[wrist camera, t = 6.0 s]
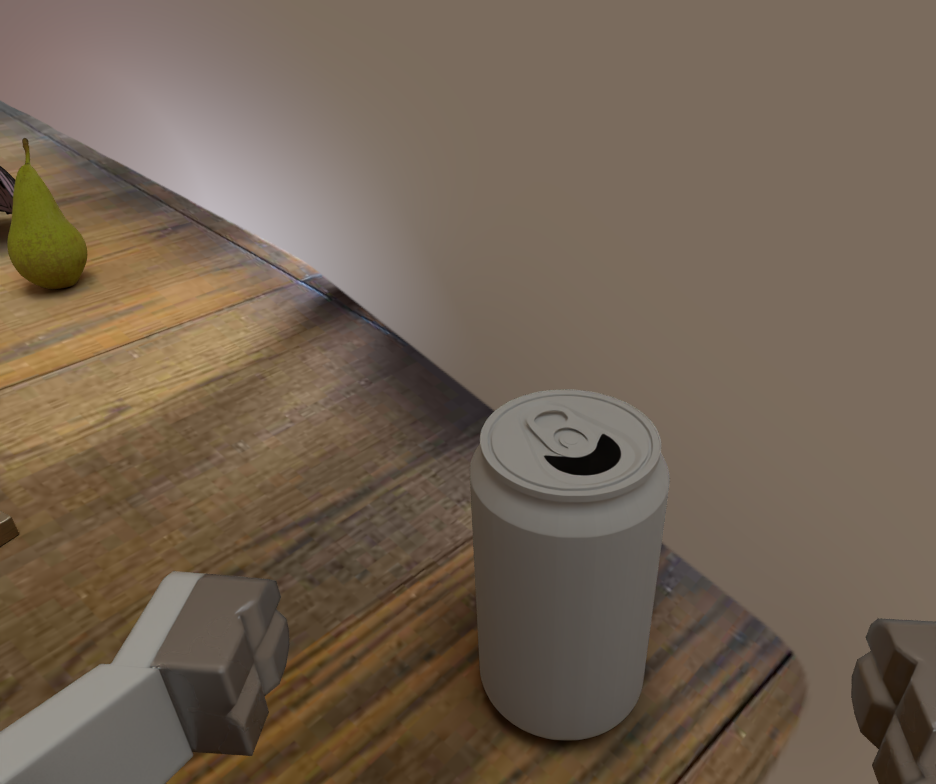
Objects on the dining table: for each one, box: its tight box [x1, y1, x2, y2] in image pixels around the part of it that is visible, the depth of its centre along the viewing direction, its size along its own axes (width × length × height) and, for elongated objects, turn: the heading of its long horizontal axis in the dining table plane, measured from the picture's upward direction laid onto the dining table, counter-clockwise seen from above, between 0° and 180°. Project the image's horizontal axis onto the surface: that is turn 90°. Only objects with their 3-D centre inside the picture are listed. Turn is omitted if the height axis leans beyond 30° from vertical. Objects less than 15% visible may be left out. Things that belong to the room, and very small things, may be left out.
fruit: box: [7, 138, 87, 289], centre depth 61 cm, size 6×6×12 cm
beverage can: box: [470, 390, 670, 740], centre depth 27 cm, size 6×6×12 cm
